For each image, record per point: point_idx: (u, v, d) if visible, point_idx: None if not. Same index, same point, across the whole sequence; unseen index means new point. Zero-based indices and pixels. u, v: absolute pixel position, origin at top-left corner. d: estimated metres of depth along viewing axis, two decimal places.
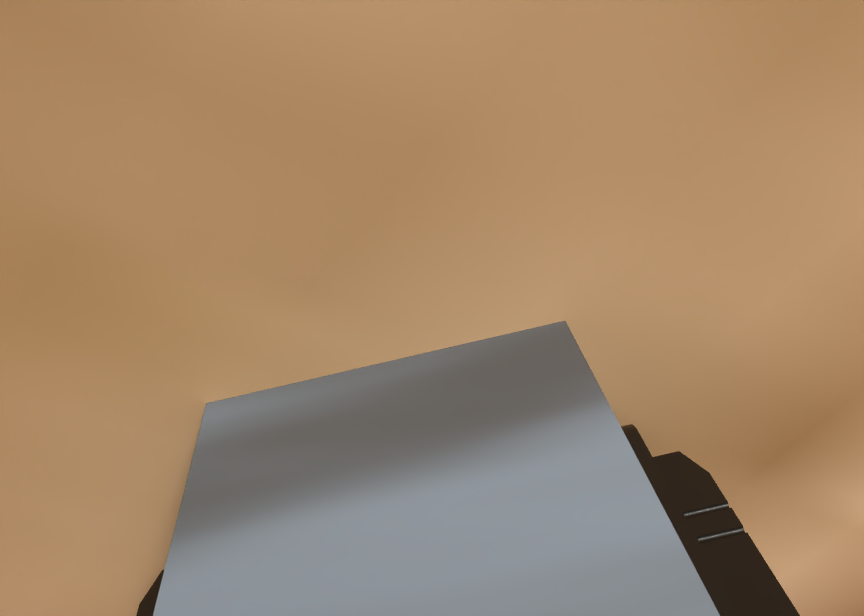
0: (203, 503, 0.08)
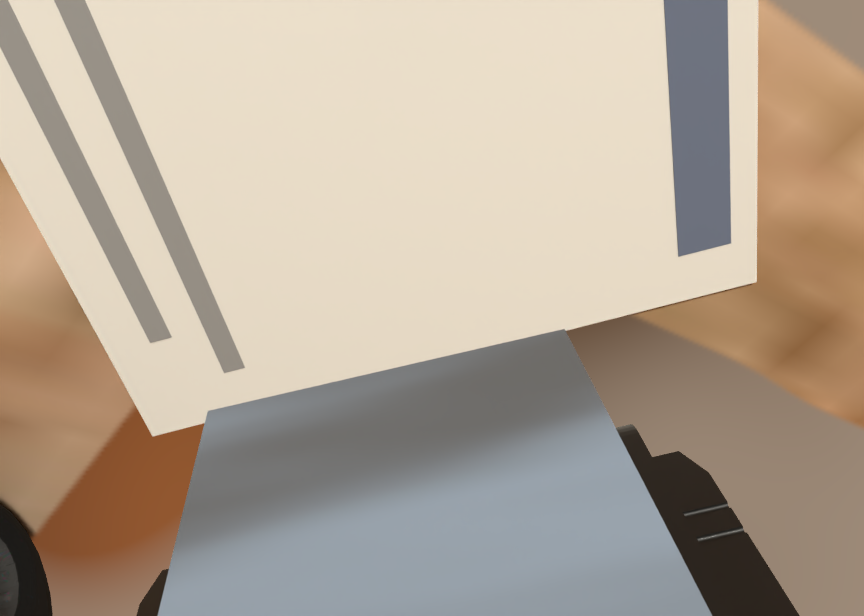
0: (205, 511, 0.08)
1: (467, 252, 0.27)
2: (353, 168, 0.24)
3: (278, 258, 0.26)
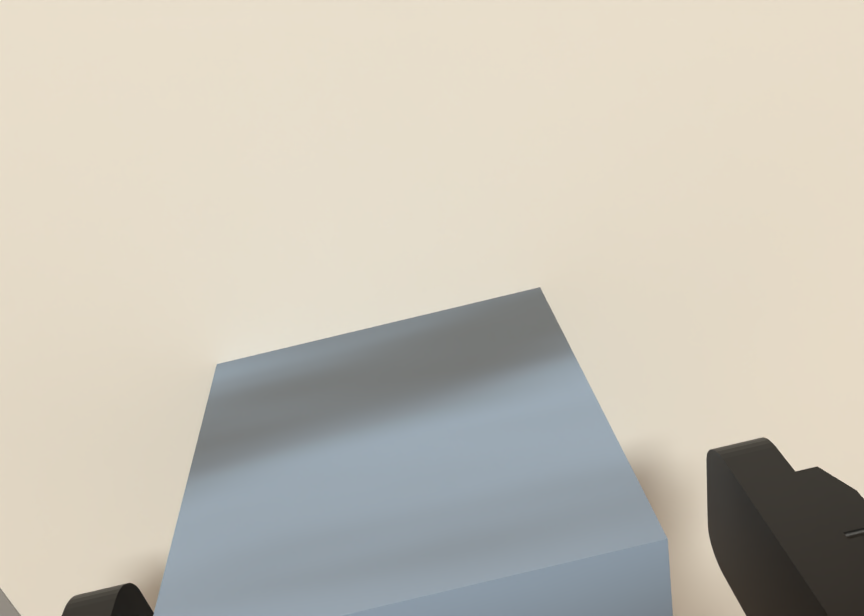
0: (215, 445, 0.10)
1: None
2: None
3: None
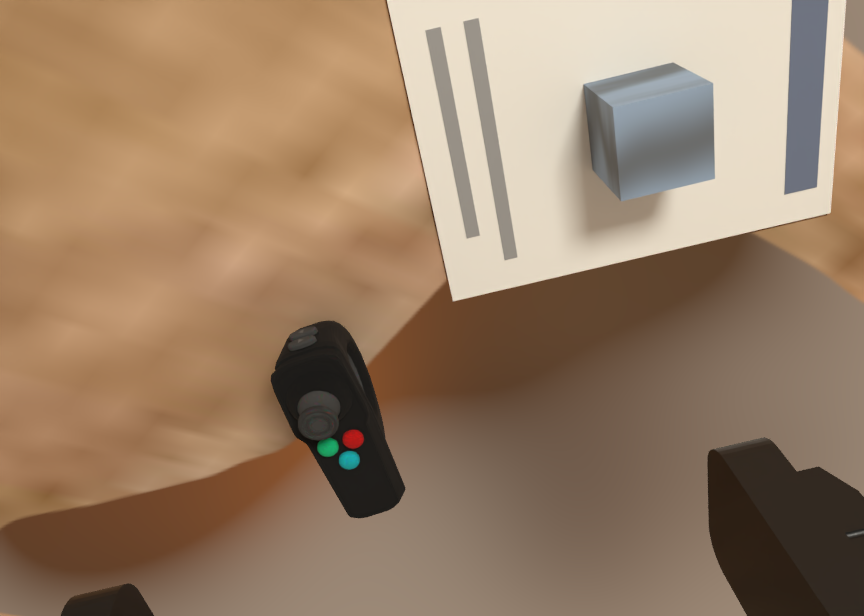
0: (599, 91, 0.39)
1: None
2: None
3: (551, 187, 0.43)
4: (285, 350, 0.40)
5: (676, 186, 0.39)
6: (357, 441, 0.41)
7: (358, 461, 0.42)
